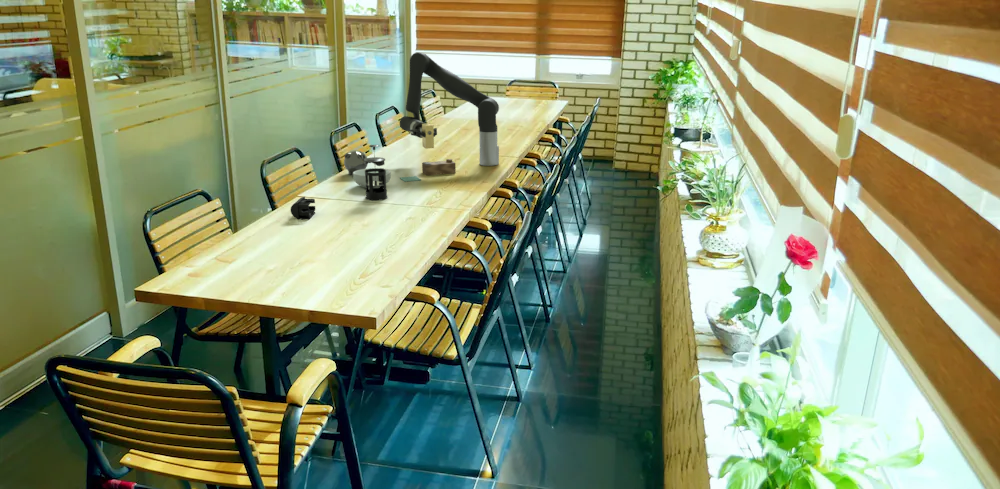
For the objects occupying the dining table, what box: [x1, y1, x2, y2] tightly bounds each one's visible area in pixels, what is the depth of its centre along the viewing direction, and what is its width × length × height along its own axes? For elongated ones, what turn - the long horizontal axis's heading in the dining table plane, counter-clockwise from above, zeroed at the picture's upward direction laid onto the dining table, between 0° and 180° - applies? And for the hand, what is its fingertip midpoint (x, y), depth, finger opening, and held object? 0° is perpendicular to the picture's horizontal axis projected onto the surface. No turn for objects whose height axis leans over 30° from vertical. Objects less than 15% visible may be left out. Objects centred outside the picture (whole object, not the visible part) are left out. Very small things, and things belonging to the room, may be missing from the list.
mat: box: [399, 175, 422, 183], centre depth 361 cm, size 8×8×1 cm
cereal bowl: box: [352, 167, 392, 189], centre depth 346 cm, size 17×17×7 cm
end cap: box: [290, 196, 316, 220], centre depth 300 cm, size 10×7×7 cm
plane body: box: [421, 158, 457, 176], centre depth 373 cm, size 15×6×6 cm, turn 113°
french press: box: [364, 144, 389, 202], centre depth 325 cm, size 12×9×23 cm
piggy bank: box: [343, 149, 369, 176], centre depth 369 cm, size 11×15×12 cm
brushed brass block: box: [421, 122, 435, 150], centre depth 365 cm, size 4×6×11 cm
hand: (429, 134), depth 362 cm, fingers closed on brushed brass block, 4 cm apart
